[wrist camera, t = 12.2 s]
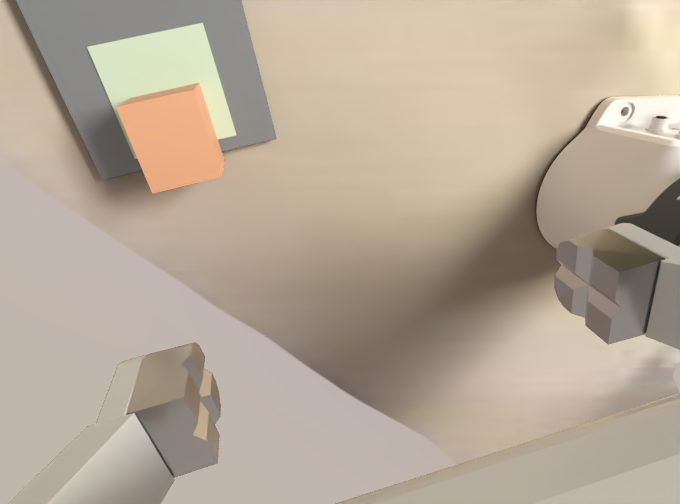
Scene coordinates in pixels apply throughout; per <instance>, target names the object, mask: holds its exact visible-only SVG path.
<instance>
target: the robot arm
mask: <svg viewBox="0 0 680 504" xmlns="http://www.w3.org/2000/svg"><path fill="white" fill-rule="evenodd" d="M622 109H623V111H622V113H621V110H622ZM537 222H538V226H539V229H540V231H541V233H542V235H543V237H544V238H545V240H546V241H547V242H548V243H549V244H550V245H552V246H553V247H554V248H556V249H557V252H556V259H557V260H558V262H559V263H560V264H561V267H560V268H559V270H558V271H557V273H556V274H555V286H554V288H555V291H556V294H557V297H558V299H559V301H560V302H561V303H562V305H563V306H564V307H565V308H566V309H567V310H568V311H569V312H570V313H572V314H575V315H578V316H581V317H585V325H586V326H587V327H588V328H589V329H590V330H592V331H593V332H594V333H595V334H596V335H597V336H599V337H600V338H601V339H602V340H603V341H605V342H606V343H607V344H612V343H615V342H619V341H622V340H626V339H630V338H633V337H637V336H641V335H644V334H646V337H649V338H652V339H654V340H657V341H659V342H662V343H664V344H667V345H669V346H672V347H674V348H677V349H680V95H665V96H622V97H609V98H607V99H605V100H604V101H603V102H602V103H601V104H600V105H599V106H598V108H597V109H596V111H595V112H594V114H593V115H592V117H591V119H590V120H589V122H588V124H587V126H586V127H585V129H584V130H583V131H582V132H581V133H580V134H579V135H578V136H577V137H576V138H575V139H574V140H573V141H571V142H570V143H569V144H568V145H567V146H566V147H565V148H564V149H563V150H562V152H561V153H560V154H559V155H558V156H557V158H556V159H555V160H554V162H553V163H552V165H551V167H550V168H549V170H548V172H547V173H546V176H545V178H544V180H543V182H542V185H541V188H540V191H539V195H538V200H537ZM204 361H205V356H204V354H203V352H202V350H201V348H200V346H199V345H198V344H197V343H190V344H187V345H183V346H179V347H175V348H171V349H167V350H163V351H159V352H155V353H151V354H148V355H143V356H140V357H137V358H133V359H129V360H126V361H123V362H121V363H120V364H119V365H118V366H117V368H116V371H115V374H114V376H113V379H112V382H111V385H110V387H109V390H108V393H107V395H106V398H105V400H104V403H103V406H102V409H101V411H100V414H99V417H98V419H97V422H96V424H93V425H90V426H87V427H86V428H85V429H84V430H83V431H82V432H81V433H80V434H79V435H78V436H77V437H76V438H75V439H74V440H73V441H72V442H71V443H70V444H69V445H68V446H67V447H66V448H65V449H64V450H63V451H61V452H60V453H59V454H58V455H57V456H56V457H55V458H54V459H53V460H52V461H51V462H50V463H49V464H48V465H47V466H46V467H45V468H44V469H43V470H42V471H41V472H40V473H39V474H38V475H37V476H36V477H35V478H34V479H33V480H32V481H31V482H30V483H29V484H28V485H27V486H25V487H24V488H23V489H22V491H20V492H19V493H18V494H17V495H16V496H15V497H14V498H13V499H12V500H11V501H10V502H9V503H8V504H160V503H161V502H162V500H163V498H164V497H165V495H166V494H167V492H168V490H169V489H170V487H171V485H172V484H173V482H174V477H178V476H181V475H184V474H187V473H189V472H192V471H195V470H198V469H201V468H204V467H208V466H211V465H214V464H217V463H218V449H219V433H218V431H217V428H216V426H215V423H216V422H217V421H218V419H219V417H220V411H221V409H220V408H221V404H220V397H219V391H218V387H217V384H216V381H215V378H214V376H213V374H212V372H210V371H208V370H206V369H204ZM337 504H680V393H679V394H676V395H673V396H670V397H667V398H663V399H660V400H657V401H654V402H651V403H648V404H645V405H642V406H638V407H635V408H632V409H629V410H626V411H623V412H620V413H617V414H614V415H610V416H607V417H604V418H601V419H598V420H595V421H592V422H589V423H585V424H582V425H579V426H576V427H573V428H570V429H567V430H564V431H561V432H557V433H554V434H551V435H548V436H545V437H542V438H539V439H536V440H533V441H529V442H526V443H523V444H520V445H517V446H514V447H511V448H508V449H504V450H501V451H498V452H495V453H492V454H489V455H486V456H483V457H480V458H476V459H473V460H470V461H467V462H464V463H461V464H458V465H455V466H452V467H448V468H445V469H442V470H439V471H436V472H433V473H430V474H427V475H424V476H420V477H417V478H414V479H411V480H408V481H405V482H402V483H399V484H395V485H393V486H389V487H386V488H383V489H380V490H377V491H374V492H371V493H367V494H364V495H361V496H358V497H355V498H352V499H349V500H346V501H343V502H340V503H337Z"/></svg>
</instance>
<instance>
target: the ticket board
mask: <svg viewBox="0 0 680 504" xmlns="http://www.w3.org/2000/svg"><path fill="white" fill-rule="evenodd" d="M16 2H17V4H18V6H19V8H20V10H21V12H22V14H23V16H24V18H25V21H26V23H27V25H28V27H29V29H30V31H31V33H32V35H33V37H34V39H35V41H36V44H37V46H38V48H39V50H40V52H41V54H42V56H43V58H44V60H45V62H46V64H47V67H48V69H49V71H50V73H51V75H52V77H53V79H54V81H55V83H56V85H57V87H58V90H59V92H60V94H61V96H62V98H63V100H64V102H65V104H66V106H67V108H68V110H69V113H70V115H71V117H72V119H73V121H74V123H75V125H76V127H77V129H78V131H79V133H80V136H81V138H82V140H83V142H84V144H85V146H86V148H87V150H88V152H89V154H90V156H91V159H92V161H93V163H94V165H95V167H96V169H97V171H98V173H99V175H100V177H101V179H102V180H105V179H109V178H113V177H117V176H122V175H126V174H130V173H134V172H138V171H143V170H142V168H141V166H140V163H139V161H138V159H137V156H136V154H135V151H134V149H133V147H132V144H131V142H130V140H129V137H128V135H127V133H126V130H125V128H124V126H123V123H122V121H121V118H120V116H119V114H118V111H117V109H116V106H118V105H120V104H121V103H123V102H125V101H127V100H128V99H130V98H132V97H137V96H141V95H146V94H150V93H155V92H159V91H164V90H168V89H173V88H177V87H182V86H186V85H191V84H195V83H200V86H201V89H202V92H203V96H204V99H205V102H206V105H207V108H208V111H209V114H210V117H211V120H212V123H213V126H214V129H215V133H216V136H217V139H218V142H219V145H220V148H221V151H222V152H223V151H227V150H231V149H235V148H240V147H244V146H248V145H252V144H256V143H261V142H265V141H269V140H273V139H277V138H276V134H275V130H274V126H273V123H272V119H271V115H270V111H269V107H268V103H267V99H266V95H265V91H264V88H263V84H262V80H261V76H260V72H259V68H258V64H257V60H256V56H255V53H254V49H253V45H252V41H251V37H250V33H249V29H248V25H247V22H246V18H245V14H244V10H243V6H242V2H241V0H16Z"/></svg>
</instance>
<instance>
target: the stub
mask: <svg viewBox="0 0 680 504" xmlns="http://www.w3.org/2000/svg"><path fill="white" fill-rule="evenodd" d="M116 109H117V111H118V114H119V116H120V118H121V121H122V123H123V126H124V128H125V130H126V133H127V135H128V137H129V140H130V142H131V144H132V147H133V149H134V151H135V154H136V156H137V159H138V161H139V163H140V166H141V168H142V170H143V173H144V175H145V177H146V180H147V182H148V184H149V187H150V189H151V191H152V194H153V193H157V192H162V191H166V190H170V189H174V188H178V187H182V186H186V185H190V184H195V183H199V182H203V181H207V180H211V179H215V178H219V177H222V176H223V168H224V161H225V160H224V157H223V154H222V151H221V148H220V145H219V142H218V139H217V136H216V133H215V129H214V126H213V123H212V120H211V117H210V114H209V111H208V108H207V105H206V102H205V99H204V96H203V92H202V89H201V86H200V83H195V84H191V85H186V86H182V87H177V88H173V89H168V90H164V91H159V92H155V93H150V94H146V95H141V96H137V97H132V98H130V99H128V100H127V101H125V102H123V103H121V104H120V105H118V106H116Z"/></svg>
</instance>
